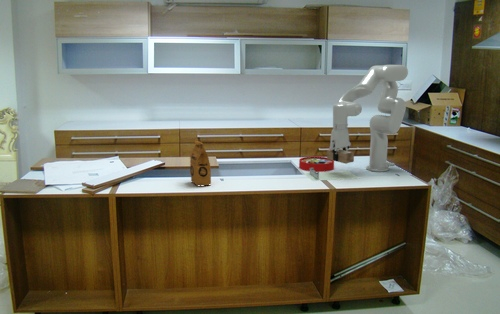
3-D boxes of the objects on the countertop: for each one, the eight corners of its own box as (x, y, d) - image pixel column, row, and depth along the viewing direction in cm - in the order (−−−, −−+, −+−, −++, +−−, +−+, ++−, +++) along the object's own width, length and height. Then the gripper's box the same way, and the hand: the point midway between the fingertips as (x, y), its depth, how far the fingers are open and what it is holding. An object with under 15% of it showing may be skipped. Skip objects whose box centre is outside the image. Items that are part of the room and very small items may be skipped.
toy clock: (297, 156, 277) (331, 156, 276) (297, 166, 278) (330, 165, 278) (301, 164, 257) (336, 164, 257) (300, 174, 258) (336, 174, 258)
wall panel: (348, 173, 259) (348, 171, 259) (359, 180, 244) (359, 178, 244) (303, 175, 255) (303, 173, 255) (312, 182, 240) (312, 180, 239)
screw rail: (312, 173, 254) (312, 167, 253) (320, 179, 242) (320, 172, 241) (308, 173, 254) (308, 167, 253) (315, 179, 241) (315, 173, 240)
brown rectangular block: (334, 157, 256) (334, 147, 255) (353, 161, 245) (353, 152, 244) (327, 159, 253) (326, 149, 252) (345, 163, 242) (345, 154, 240)
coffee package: (194, 187, 231) (192, 144, 227) (189, 181, 243) (187, 140, 238) (213, 186, 234) (212, 143, 230) (207, 180, 246) (206, 139, 241)
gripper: (346, 123, 252) (346, 155, 256) (323, 128, 243) (323, 161, 247) (356, 125, 246) (356, 158, 250) (333, 130, 237) (333, 164, 241)
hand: (340, 159), depth 249 cm, fingers closed on brown rectangular block, 6 cm apart
